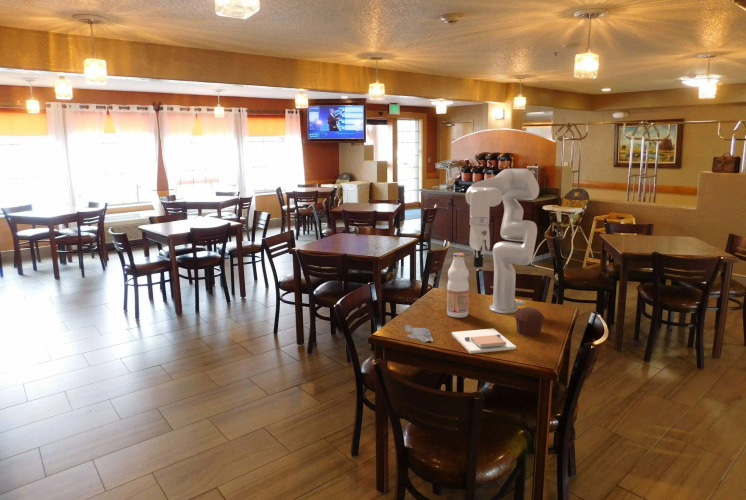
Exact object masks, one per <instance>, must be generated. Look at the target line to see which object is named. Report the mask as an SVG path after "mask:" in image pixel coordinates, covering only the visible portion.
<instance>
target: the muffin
mask: <svg viewBox="0 0 746 500" xmlns="http://www.w3.org/2000/svg"><path fill="white" fill-rule="evenodd" d="M514 318H515V321H516V322H515V324H516V333H518V334H519V335H522V336H525V337H538V336H540V335H541V332H542V327H543V323H544V321H545V318H546V317H545V316H544V315H543V314H542V312H541V311H540V310H538V309H537V308H534V307H522V308H521V309H518V311H517V312H516V313H515V314H514Z"/></svg>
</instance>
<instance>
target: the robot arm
mask: <svg viewBox="0 0 746 500" xmlns="http://www.w3.org/2000/svg"><path fill="white" fill-rule="evenodd" d="M539 194H540V185H539V183H538V181H537V179H536V177H535V176H534V174H533V172H532V171H531V170H529V169H528V168H505V169H502V170H501V171H500V172H499V173H497V174H496V175H495V176H494V177H490V178H487V179H483V180H480V181H475V182H474V183H473V184H471V185H470V186H469V187H468V189H467V190H466V192H465V202H466V203H467V204H468V205H469V225H470V229H469V248H471V250H472V251H473V252H472V253H473V267H474V268H483V267H484V265H483V264H484V255H486V251H490V248H491V240H490V239H491V237H490V236H491V235H490V226H489V225H490V210H491V209H490V207H497V206H499V205H500V204H501V203H503V209H504V211H503V217H502V220H501V221H502V222H501V226H500V233H499V234H500V237H501V238H502V239H503V240H507V241H497V243H495V244H494V245H493V246H492V247H493V248H492V258H493V268H494V269H493V293H492V294H493V295H492V296H493V297H492V301H493V302H492V304H490V305H489V310H490V311H492V312H493V313H498V314H513V313H517V312H518V311H519V309H518V306H524V305H525V304H526V303H525V300H519V299H515V298H516V279H517V278H516V269H515V268H514V266H513V265H520V266H521V265H522V266H528V265H529V264H531V262H532V260H533V257H534V252H535V246H536V241H537V236H538V226H537V224H536V223H535V222H534V221H531V220H527V219H526V220H523V217H524V208H523V206H522V205H521V203H519V201H518V200H525V201H526V200H527V201H528V200H529V201H530V200H531V201H532V200H535V199H537V198H538V196H539ZM513 241H514V242H513Z"/></svg>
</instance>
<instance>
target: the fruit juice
mask: <svg viewBox="0 0 746 500" xmlns="http://www.w3.org/2000/svg"><path fill="white" fill-rule="evenodd" d="M452 257H453V259H452V262H451V265H450V267H449V269H448V271H447V277H448V281H447V285H446V288H447V290H446V292H447V295H446V313H447V315H448V316H449V317H451V318H456V319H457V318H460V319H461V318H466V317H468V315H469V301H470V300H469V298H470V297H469V296H470V295H469V294H470V293H469V291H470V285H469V281H468V278H469V276H470V274H469V273H470V271H469V269H468V268H467V266H466V263H465V259H464V258H465V253H464V252H454V253H452Z"/></svg>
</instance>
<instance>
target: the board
mask: <svg viewBox="0 0 746 500" xmlns="http://www.w3.org/2000/svg"><path fill="white" fill-rule="evenodd" d="M489 335H496V336H497V337H499V338H501V339H502V340H504V341H505V342H506V345H502V346H492V347H479V346H478V345H477V344H475V343H474V342H473V341H471V337H478V336H489ZM451 336H452V337H453V338H454V339H456V341H457V342H458V343H460V345H462V347H463V348H465V350H466V351H467V352H468V353H469V354H479V353H488V352H489V353H490V352H500V351H510V350H517V346H516V345H515V344H513V343H512V342H511V341H510V340H509V339H508V338H506V337H505V336H503V334H501V333H500V332H498V331H497V330H496V329H495V328H485V329H482V328H481V329H476V330H475V329H473V330H472V329H471V330H463V331H462V330H461V331H452V332H451Z"/></svg>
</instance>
